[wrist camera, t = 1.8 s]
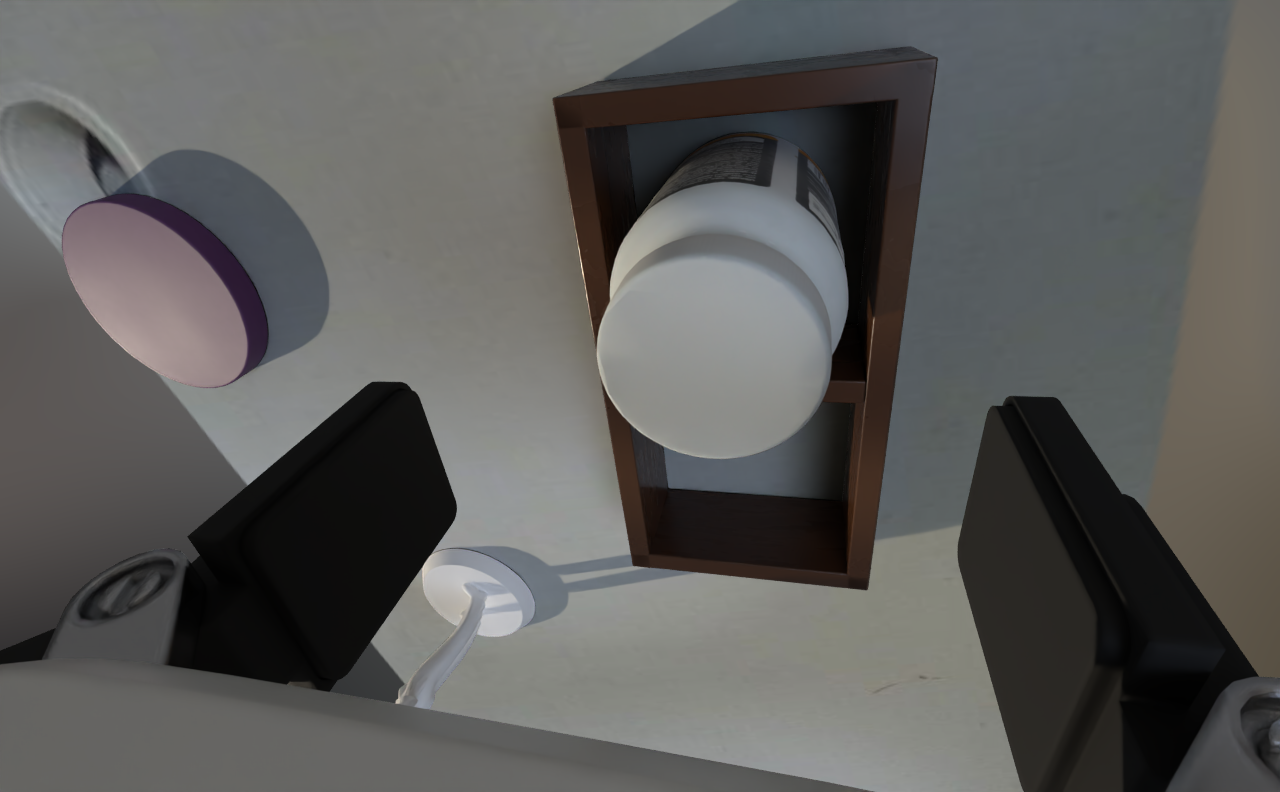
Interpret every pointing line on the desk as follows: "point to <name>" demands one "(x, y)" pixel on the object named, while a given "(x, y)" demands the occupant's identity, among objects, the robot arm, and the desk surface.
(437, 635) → the desk surface
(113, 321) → the disc
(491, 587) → the figurine
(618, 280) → the pill bottle
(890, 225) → the rack
